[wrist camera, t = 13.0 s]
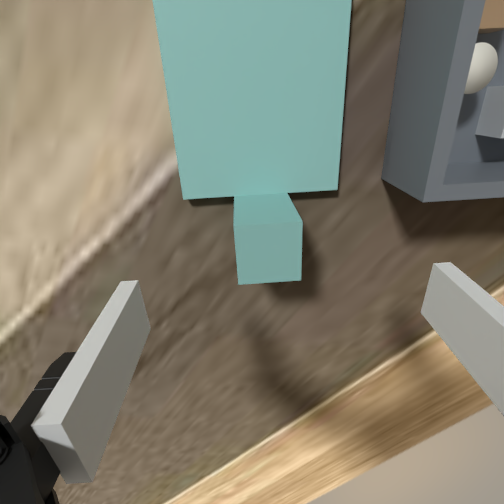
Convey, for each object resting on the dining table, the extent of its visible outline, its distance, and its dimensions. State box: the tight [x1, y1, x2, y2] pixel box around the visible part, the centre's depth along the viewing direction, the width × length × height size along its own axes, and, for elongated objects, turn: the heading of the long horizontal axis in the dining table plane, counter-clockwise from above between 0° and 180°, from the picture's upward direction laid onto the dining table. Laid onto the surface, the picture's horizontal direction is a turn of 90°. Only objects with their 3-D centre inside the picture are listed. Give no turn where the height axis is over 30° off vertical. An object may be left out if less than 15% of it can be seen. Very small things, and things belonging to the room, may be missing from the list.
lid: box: [153, 0, 352, 285], centre depth 18 cm, size 21×12×7 cm, turn 3°
